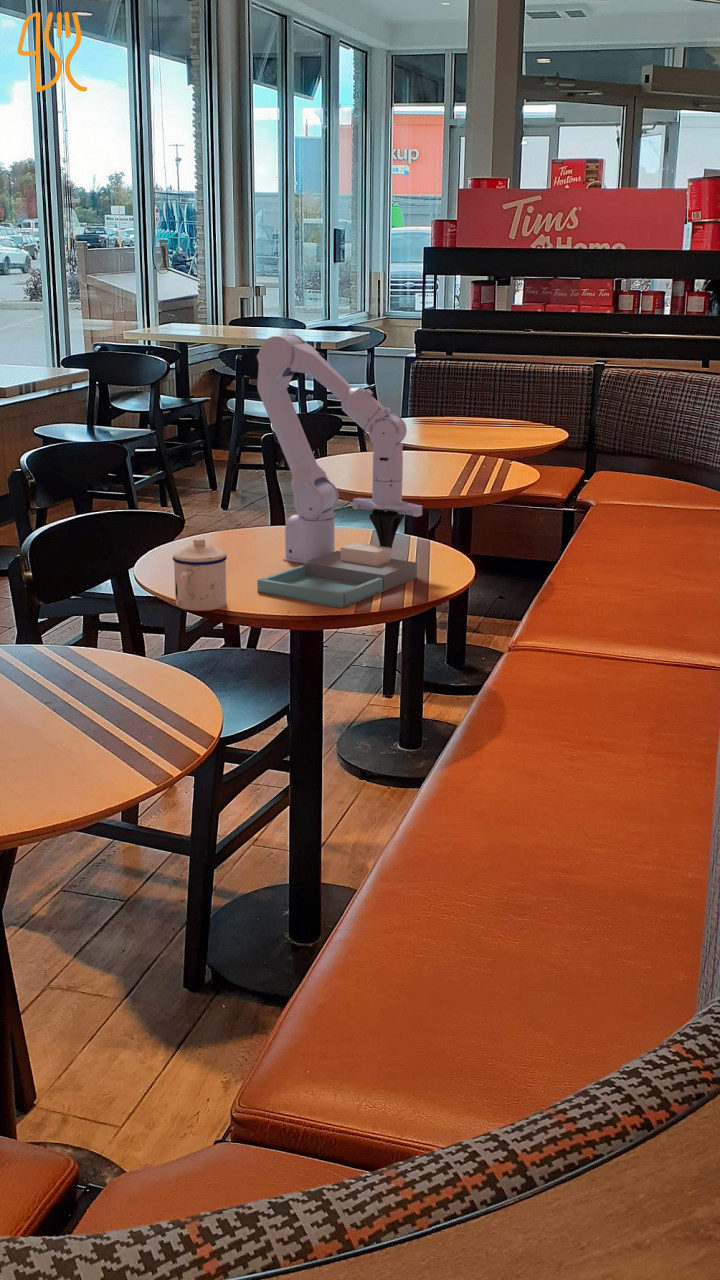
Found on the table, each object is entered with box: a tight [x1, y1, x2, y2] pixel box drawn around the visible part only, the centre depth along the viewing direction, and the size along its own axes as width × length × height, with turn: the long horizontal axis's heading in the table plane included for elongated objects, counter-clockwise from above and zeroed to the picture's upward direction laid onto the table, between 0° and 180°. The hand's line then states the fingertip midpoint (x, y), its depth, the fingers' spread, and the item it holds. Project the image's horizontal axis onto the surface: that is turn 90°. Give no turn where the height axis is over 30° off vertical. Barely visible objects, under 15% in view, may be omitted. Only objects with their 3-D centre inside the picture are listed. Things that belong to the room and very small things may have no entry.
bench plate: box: [301, 550, 418, 592], centre depth 215 cm, size 18×12×3 cm, turn 58°
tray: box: [256, 565, 385, 609], centre depth 205 cm, size 18×14×2 cm
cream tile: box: [340, 542, 392, 566], centre depth 216 cm, size 8×5×2 cm, turn 58°
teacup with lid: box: [172, 537, 228, 612], centre depth 193 cm, size 12×9×12 cm
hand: (386, 549), depth 222 cm, fingers closed
